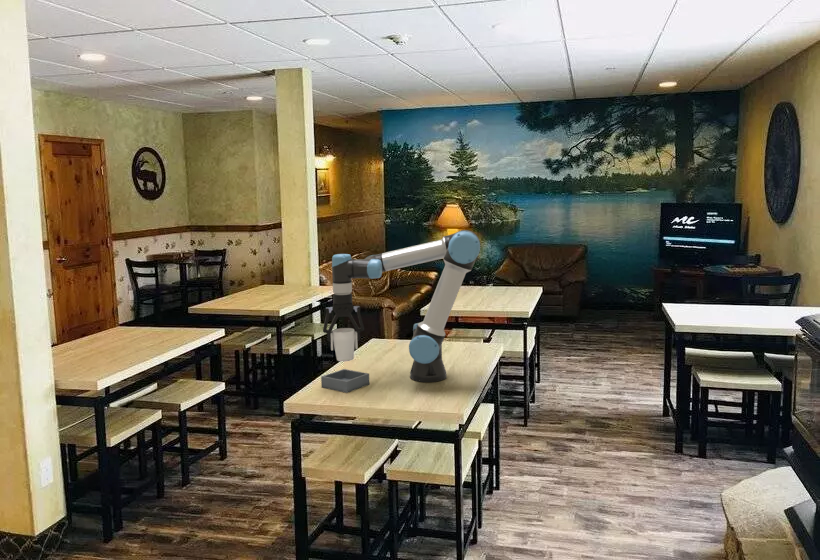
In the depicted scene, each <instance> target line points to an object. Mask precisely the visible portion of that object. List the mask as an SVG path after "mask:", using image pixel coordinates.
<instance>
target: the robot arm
mask: <svg viewBox="0 0 820 560" xmlns="http://www.w3.org/2000/svg"><path fill="white" fill-rule="evenodd" d="M480 251H481V241H480V238H479V236H478V235H477V234H476V233H475V232H474V231H473V230H469V229H462V230H459V231H456V232H454V233H451V234H448V235H445V236H442V239H439V240H434V241H429V242H425V243H419V244H417V245H411V246H408V247H404V248H398V249H395V250H390V251H386V252H382V253H379V254H377V253H376V254H372V255H368V256H367V257H365V258H364V259H361V258H360V259H358V258H357V259H354V258H352V256H351V254H348V253H337V254H333V256H331V257H332V258H331V271H332V272H331V273H332V275H331V276H332V292H333V295H332V300H333V301H332V302H333V303H332V306H330V307H329V306H328V307H325V318H324V323H323V328H322V332H323V333H325V334H327V342H330V350H331V351H334V343H333V330H334V327H335V325H336V322H337V320H338V319H339V318H343V317H345V318H347V317H348V318H349V320H350V321H351V324H352V325H353V328H354V330H355V346H354V349H355V350H358V346H359V345H358V341H361V332H364V331H365V326H364V321H363V319H362V315H361V306H360V305H356V306H355V305H353V294H352V292H353V283H352V282H353V279H372V280H373V279H379V278H381V277H382V276H383V275H382V274H383V273H384V272H388V271H393V270H396V269H401V268H402V269H403V268H405V267H410V266H414V265H418V264H419V265H420V264H423V263H429V262H432V261H437V260H441V259H443V261H444V268H443V270H442V271H441V275H440V278H439V280H438V282H437V285H436V288H435V290H434V293H433V295H432V297H431V301H430V303H429V305H428V308H427V310H426V313H425V316H424V318H423V321H421V322H417V323H416V322H415V323H414V324H413V327H412V328H413V329H412V331H413V336H412V338H411V340H410V341H409V344H408V351H409V355H410V357H411V358H412V359H413V361H412V364H411V368H410V372H409V373H410V374H409V378H410V379H411V380H412V381H415V382H420V383H434V382H435V383H436V382H441V381H443V380H445V379H447V371H446V366H445V364H444V361H443V351H442V350H443V345H442V344H443V342H444V340H445V337H446V332H445V327H446V324H447V321H448V319H449V316H450V314H451V312H452V309H453V307H454V304H455V302H456V299H457V297H458V294H459V291H460V289H461V287H462V284H463V281H464V279H465V277H466V274H467V273H469V272H471V271H472V270H473V267H474V265H475V263H476V261H477V258H478V256H479V254H480ZM353 310H354V311H355V313H356V315H357V319H358V322H359V326H360V327H359V326H358V324H357V323H356V321H355V319H354V316H353V315H352V312H353ZM332 311H333V312H334V314H335V315H334V316H333V319H332V321H331V323H330V325H329V327H328V323H329V319H330V314H332Z"/></svg>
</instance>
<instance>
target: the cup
mask: <svg viewBox="0 0 820 560" xmlns="http://www.w3.org/2000/svg"><path fill="white" fill-rule="evenodd" d="M355 332H356V330H355V328H354V327H353V328H352V327H340V328H335V329H332V334H333V349H334V351H335V357H336V361H338V362H343V363H344V362H350V361H351V362H352V361H353V360H354V357H355Z"/></svg>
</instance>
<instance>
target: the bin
mask: <svg viewBox="0 0 820 560" xmlns="http://www.w3.org/2000/svg"><path fill="white" fill-rule="evenodd" d="M320 381H321V383H320V384H321V385H320V386H321V388H323V389H328V390H332V391H337V392H340V393H346V394H348V393H351V392H354V391H355V390H359V389H362V388H364V387H366V386H369V385H370V373H367V372H362V371H357V370H351V369H347V368H343V369H340V370H337V371H334V372H331V373H327V374H325V375H321V376H320Z"/></svg>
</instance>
